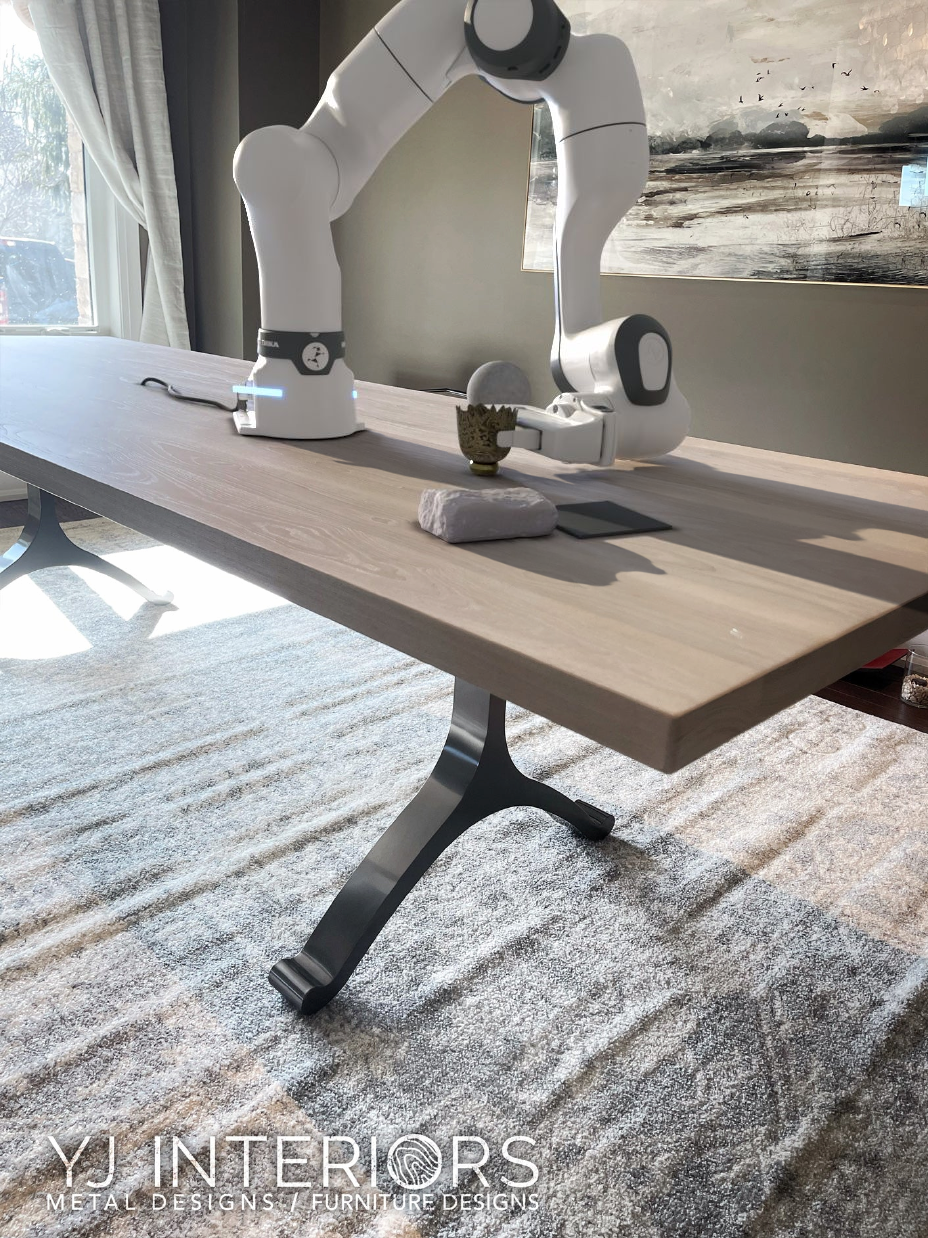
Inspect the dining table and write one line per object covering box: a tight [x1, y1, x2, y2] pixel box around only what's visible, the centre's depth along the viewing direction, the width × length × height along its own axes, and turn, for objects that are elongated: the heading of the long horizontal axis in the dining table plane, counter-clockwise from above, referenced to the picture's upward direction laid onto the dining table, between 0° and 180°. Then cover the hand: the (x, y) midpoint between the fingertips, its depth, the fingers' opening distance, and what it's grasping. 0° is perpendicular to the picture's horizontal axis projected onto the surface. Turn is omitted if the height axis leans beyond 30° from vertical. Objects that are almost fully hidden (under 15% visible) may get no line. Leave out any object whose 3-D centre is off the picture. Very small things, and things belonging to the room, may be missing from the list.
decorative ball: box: [466, 360, 532, 406], centre depth 148 cm, size 10×10×10 cm
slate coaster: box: [554, 500, 673, 539], centre depth 97 cm, size 11×11×1 cm
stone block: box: [417, 486, 558, 544], centre depth 91 cm, size 12×5×10 cm
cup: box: [455, 403, 519, 477], centre depth 114 cm, size 8×7×8 cm
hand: (479, 432), depth 113 cm, fingers closed on cup, 7 cm apart
